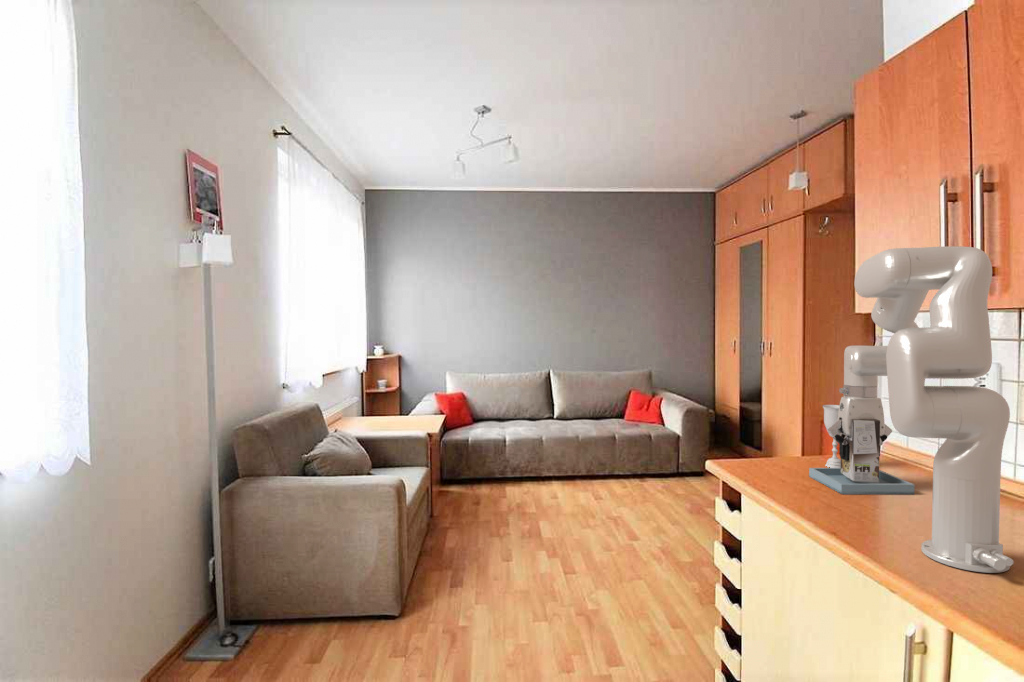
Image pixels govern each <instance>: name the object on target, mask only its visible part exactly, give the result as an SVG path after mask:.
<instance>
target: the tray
mask: <svg viewBox="0 0 1024 682" xmlns="http://www.w3.org/2000/svg"><path fill="white" fill-rule="evenodd" d="M808 469H809V473H808V474H809V475H808V477H809V478H810V479H813V480H814V481H816V482H818V483H820V484H822V485H823V484H824V486H825V485H826V486H825V487H827V488H829V489H831V490H833V491H834V490H835V491H834V492H836V491H837V492H836V493H838V494H840V495H915V487H916V485H915V484H914V483H912V482H910V481H907V480H904V479H902V478H900V477H897V476H895V475H893V474H890V473H888V472H886V471H883V470H881V469H879V482H878V483H875V482H858V481H852V480H851V479H849V478H848V477H846V476H845V475H843V474H842V473H841V468H829V467H809V468H808Z"/></svg>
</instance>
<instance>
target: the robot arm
mask: <svg viewBox="0 0 1024 682" xmlns="http://www.w3.org/2000/svg"><path fill="white" fill-rule="evenodd" d="M992 278H993V265H992V261H991V259H990V257H989V256H988V254H987V253H986V252H985V251H983V250H982V249H980V248H978V247H972V246H956V245H955V246H953V245H952V246H949V245H947V246H946V245H945V246H928V247H926V246H924V247H901V248H899V247H898V248H897V247H896V248H889V249H885V250H883V251H880V252H878V253H876V254H875V255H873V256H871V257H869V258H868V259H865V261H863V262H862V263H861V264H860V266H859V267H858V269H857V271H856V273H855V276H854V284H853V285H854V289H855V292H856V293H857V295H858V296H860V297H862V298H866V299H871V298H873V299H874V298H875V299H876V301H875V303H874V305H873V308H872V310H871V313H870V314H871V316H870V317H871V320H872V322H873V323H874V324H875V325H876V326H877V327H879V328H881V329H882V330H884V331H887V332H889V333H891V334H893V335H892V336H891V337H890V338H889V341H888V344H887V345H848V346H846V347H845V349H844V351H843V352H844V353H843V355H844V356H843V386H842V387H839V389H838V391H839V394H842V395H843V396H841V398H840V400H839V411H838V421H837V422H836V423H835V424H834V425H832V426H831V427H830V428H829V429H828V431H827V433H828V432H829V433H830V434H831V435H832V436H833V437H832V439H833V438H834V439H835V440H836V441H837V444H838V448H839V450H838V451H839V457H840V458H839V459H840V460H841V459H844V460H846V461H849V456H850V447H849V446H848V442H849V440H850V436H852V420H853V419H857V420H858V419H877V420H880V447H881V446H883V444H884V442H885V441H886V440H887V439H888V437H889V436H890V435H891V433H893V429H892V428H891V427H889V426H888V425H887V424H886V423H885V414H884V413H885V411H884V407H883V402H882V399H881V397H878V379H879V378H878V377H887V390H888V403H889V415H890V419H891V423H892V425H893V428H894V429H895V430H896V432H898V433H899V434H901V435H903V436H906V437H910V438H919V439H920V438H921V439H945V441H944V442H943V443H942V444H941V445H940V447H939V449H937V451H936V452H935V455H934V459H933V466H932V501H931V502H932V503H931V504H932V509H931V510H932V512H931V515H932V517H931V539H927V540H924V541H923V542H921V544H920V545H921V548H920V549H921V551H922V553H923V554H924V555H925V556H926V557H928V558H930V559H932V560H933V561H936V562H938V563H941V564H943V565H946V566H949V567H952V568H957V569H960V570H965V571H970V572H975V573H977V572H978V573H984V574H985V573H986V574H987V573H988V574H993V573H994V574H997V573H998V574H999V573H1003V572H1007V571H1008V570H1010V568H1011V566H1012V565H1014V560H1013V559H1012V558H1011V557H1010V556H1007V555H1004V554H1003V553H1004V545H1003V544H1002V543H1000V516H1001V515H1000V512H1001V511H1000V510H1001V509H1000V508H1001V507H1000V506H1001V478H1002V475H1001V474H1002V457H1003V456H1002V454H1003V447H1004V442H1005V438H1006V435H1007V430H1008V428H1009V422H1010V418H1011V412H1010V406H1009V403H1008V402H1007V400H1006V398H1005V397H1004V396H1003V395H1001V393H998V392H997V391H996V390H992V389H991V388H986V387H982V386H972V385H926V384H925V383H926V382H925V381H926V379H934V380H935V379H940V380H941V379H943V380H944V379H945V380H949V379H951V380H954V379H957V380H958V379H960V380H961V379H962V380H963V379H967V380H968V379H975V378H981V377H983V376H985V375H986V374H988V373H989V371H990V370H991V367H992V362H993V353H992V352H993V351H992V340H991V339H992V338H991V329H990V327H991V326H990V318H989V317H990V315H989V309H988V299H989V291H990V287H991V283H992ZM930 290H931V291H932V290H933V291H934V290H935V291H937V292H936V293H935V295H934V296H933V297H932V299H931V301H930V304H929V309H928V310H929V319H930V320H929V321H930V325H929V326H930V327H920V326H919V325H918V324H917V322H916V321H915V320H916V318H917V316H918V314H919V311H920V310H921V307H922V306H923V303H924V302H925V300H926V298H927V296H928V294H929V291H930ZM837 430H838V431H839V432H840V433H841V435H839V434H838V433H837ZM829 433H828V434H829ZM880 457H881V449H880V450H879V458H880Z"/></svg>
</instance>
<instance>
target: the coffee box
mask: <svg viewBox="0 0 1024 682" xmlns="http://www.w3.org/2000/svg"><path fill="white" fill-rule="evenodd" d="M848 446H849V447H850V456H849V461H846V460H844V459H841V458H840V460H841V473H842V474H843V475H845V476H846V477H848V478H849V479H851V480H852V481H858V482H875V483H878V482H879V470H880V457H879V450H880V451H881V446H880V420H877V419H858V420H857V419H853V420H852V436H850V440H849V442H848Z"/></svg>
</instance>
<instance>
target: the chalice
mask: <svg viewBox="0 0 1024 682" xmlns="http://www.w3.org/2000/svg"><path fill="white" fill-rule="evenodd" d="M839 405H840V404H839ZM839 405H838V404H823V405H822V408H823V423H824V426H825V429H826V431H827V433H828V435H829V437H831V438H832V439H833V441H832V443H831V445H832V449H831V451H832V457H829V458H828V459H827V461H826V464H824V465H825V467H826V466H827V467H826V468H829V467H830V468H841V458H839V457H838V455H837V453H838V451H839V450H838V446H839V443H838V442H837V441H836V440H835V439H834V438H833V436H832V435H831V434H830V433H829V432H828V429H829V428H830V427H831V426H832V425H834V424H835V423H836V422H837V421H838V411H839ZM837 433H838V434H839V435H841V433H840V432H839V431H838V430H837Z"/></svg>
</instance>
